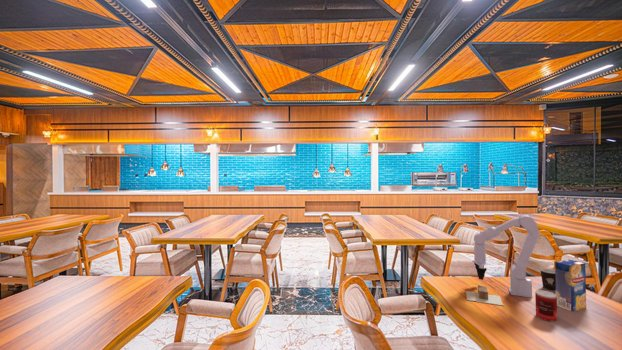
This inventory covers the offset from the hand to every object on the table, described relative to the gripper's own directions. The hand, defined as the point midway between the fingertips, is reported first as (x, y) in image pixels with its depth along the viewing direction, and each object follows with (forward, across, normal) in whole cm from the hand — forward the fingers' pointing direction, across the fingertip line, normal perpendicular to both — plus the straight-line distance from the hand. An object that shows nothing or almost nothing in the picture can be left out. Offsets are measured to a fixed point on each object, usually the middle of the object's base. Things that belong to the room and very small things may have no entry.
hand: (480, 277), depth 166 cm
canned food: (+6, +28, +24) cm, 37 cm away
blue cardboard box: (+6, +10, +38) cm, 40 cm away
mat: (+6, +17, 0) cm, 18 cm away
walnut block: (+4, +10, 0) cm, 10 cm away
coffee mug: (+6, -13, +37) cm, 40 cm away
